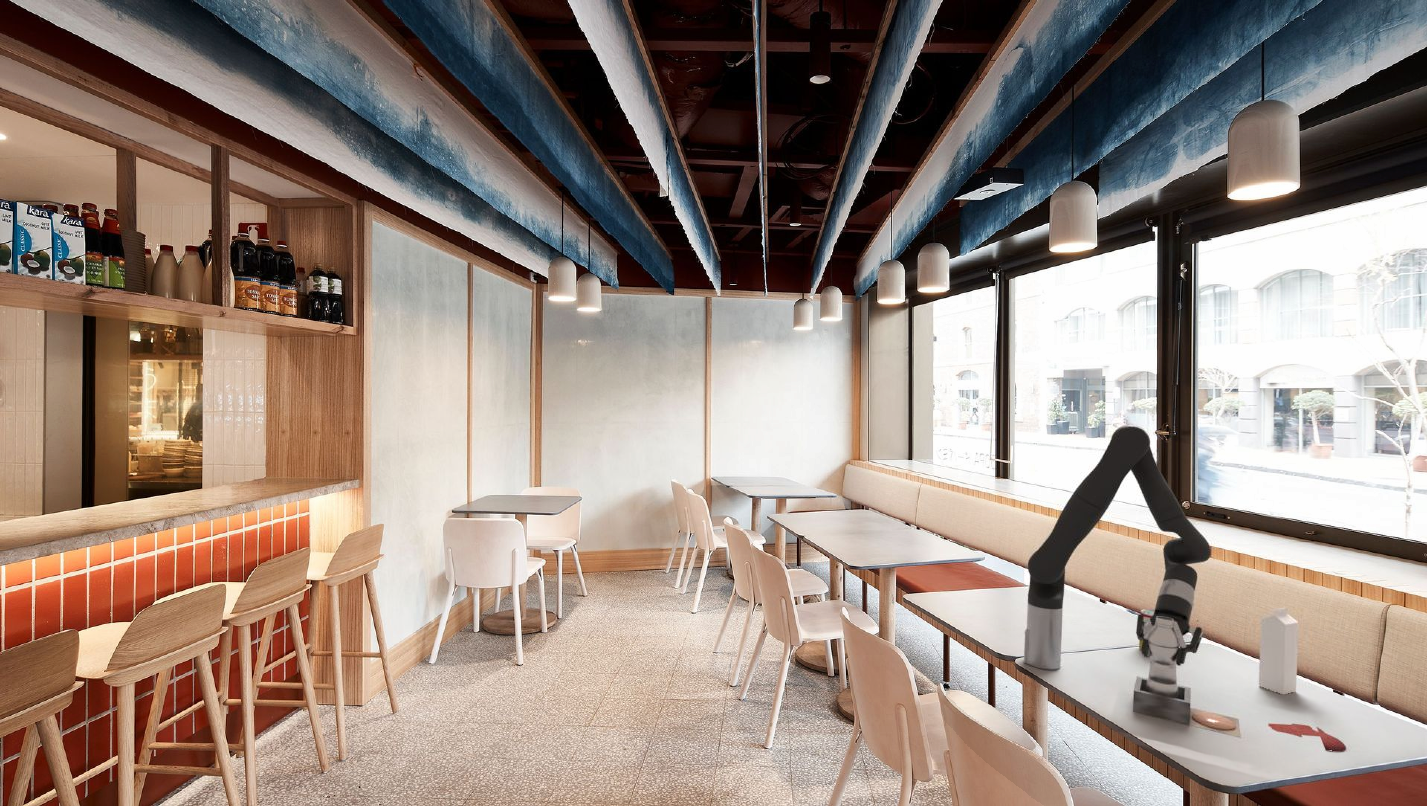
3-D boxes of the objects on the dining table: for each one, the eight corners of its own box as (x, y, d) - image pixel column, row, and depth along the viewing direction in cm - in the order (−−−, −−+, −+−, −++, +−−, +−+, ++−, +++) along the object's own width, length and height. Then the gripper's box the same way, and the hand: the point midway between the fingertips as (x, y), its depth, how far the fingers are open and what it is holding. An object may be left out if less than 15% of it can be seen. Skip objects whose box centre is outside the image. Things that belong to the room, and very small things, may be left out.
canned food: (1168, 650, 220) (1170, 612, 220) (1169, 658, 214) (1170, 618, 213) (1139, 645, 224) (1140, 607, 224) (1138, 652, 218) (1140, 613, 218)
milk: (1296, 692, 190) (1300, 610, 190) (1282, 695, 188) (1287, 612, 188) (1270, 683, 196) (1274, 604, 196) (1257, 686, 194) (1261, 606, 193)
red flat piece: (1282, 752, 156) (1283, 743, 156) (1235, 724, 170) (1235, 715, 170) (1360, 755, 157) (1360, 746, 157) (1306, 726, 171) (1306, 717, 170)
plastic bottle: (1183, 707, 169) (1186, 624, 168) (1151, 703, 170) (1155, 621, 170) (1171, 696, 175) (1174, 616, 175) (1141, 693, 176) (1144, 613, 176)
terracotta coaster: (1191, 723, 165) (1191, 721, 165) (1191, 710, 172) (1191, 709, 172) (1236, 733, 161) (1236, 731, 161) (1234, 720, 168) (1234, 718, 168)
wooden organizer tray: (1132, 717, 170) (1133, 691, 170) (1135, 701, 180) (1136, 676, 180) (1240, 744, 159) (1242, 715, 159) (1238, 725, 169) (1239, 697, 169)
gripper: (1140, 587, 183) (1125, 643, 174) (1207, 600, 173) (1195, 660, 164) (1144, 603, 186) (1130, 659, 178) (1210, 617, 176) (1198, 676, 168)
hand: (1161, 659), depth 171 cm, fingers closed on plastic bottle, 6 cm apart
